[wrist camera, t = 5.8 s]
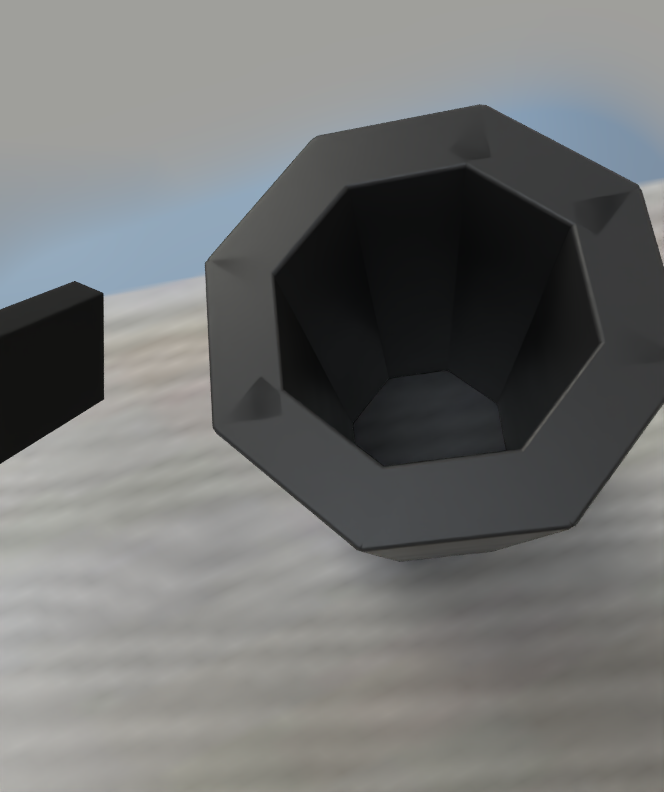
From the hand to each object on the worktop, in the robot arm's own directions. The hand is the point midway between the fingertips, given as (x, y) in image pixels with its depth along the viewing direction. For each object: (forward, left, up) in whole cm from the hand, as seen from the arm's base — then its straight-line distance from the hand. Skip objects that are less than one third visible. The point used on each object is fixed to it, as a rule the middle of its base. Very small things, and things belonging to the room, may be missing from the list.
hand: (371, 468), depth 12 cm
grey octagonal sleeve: (-1, -2, -8) cm, 9 cm away
